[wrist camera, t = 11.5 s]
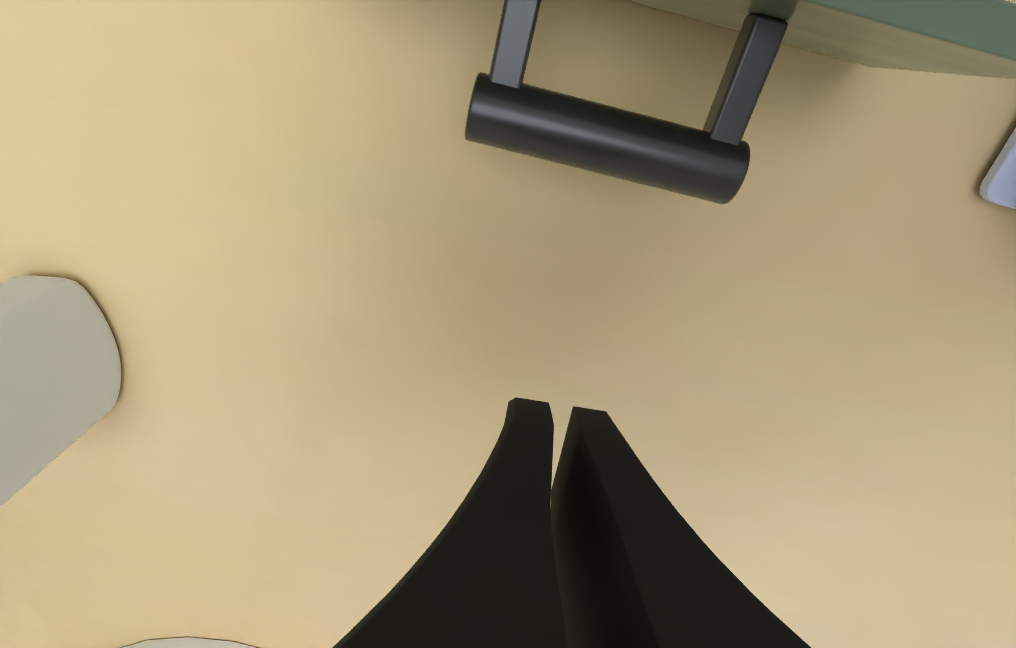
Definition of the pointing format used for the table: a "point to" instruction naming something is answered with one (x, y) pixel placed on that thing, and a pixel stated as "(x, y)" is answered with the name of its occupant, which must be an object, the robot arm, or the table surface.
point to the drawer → (726, 82)
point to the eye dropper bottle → (50, 373)
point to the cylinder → (187, 643)
